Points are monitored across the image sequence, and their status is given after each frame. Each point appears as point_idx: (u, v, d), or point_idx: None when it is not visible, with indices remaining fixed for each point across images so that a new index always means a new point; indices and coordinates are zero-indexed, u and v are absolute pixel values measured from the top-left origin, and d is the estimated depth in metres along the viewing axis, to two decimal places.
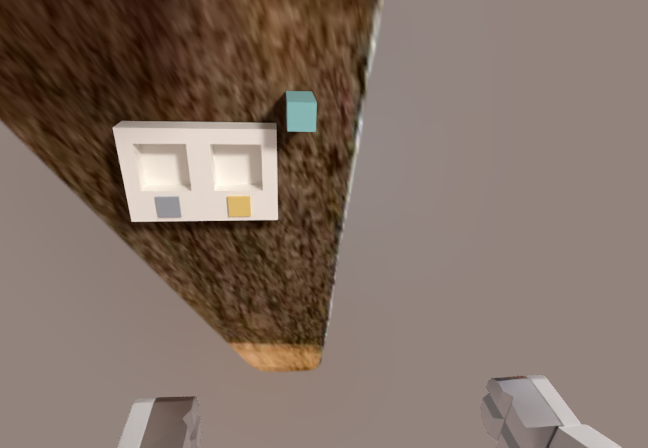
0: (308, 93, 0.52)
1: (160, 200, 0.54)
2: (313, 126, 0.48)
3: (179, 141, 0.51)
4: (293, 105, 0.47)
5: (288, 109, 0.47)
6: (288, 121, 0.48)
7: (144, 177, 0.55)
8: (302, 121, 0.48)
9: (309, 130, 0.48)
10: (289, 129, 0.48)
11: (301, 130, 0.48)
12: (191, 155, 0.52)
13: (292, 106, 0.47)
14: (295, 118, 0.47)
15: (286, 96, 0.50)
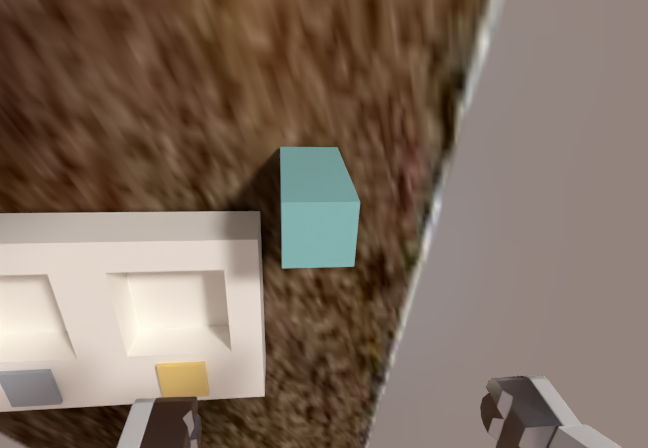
0: (331, 155, 0.23)
1: (9, 379, 0.25)
2: (350, 256, 0.19)
3: (31, 269, 0.22)
4: (297, 209, 0.17)
5: (284, 219, 0.18)
6: (284, 246, 0.18)
7: None
8: (320, 244, 0.18)
9: (338, 264, 0.19)
10: (287, 264, 0.19)
11: (318, 265, 0.19)
12: (65, 296, 0.23)
13: (294, 211, 0.17)
14: (303, 239, 0.18)
15: (280, 170, 0.21)
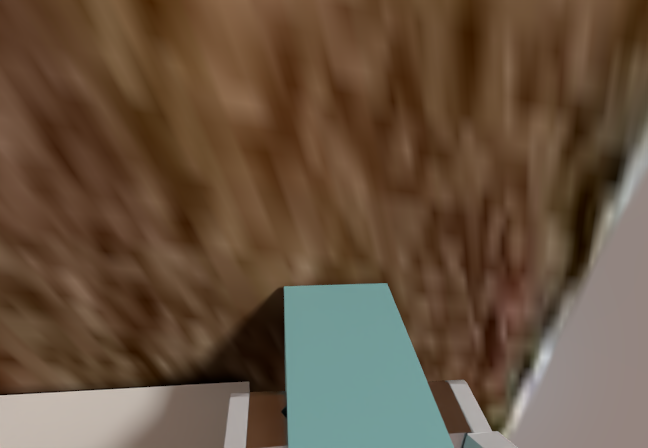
0: (382, 315, 0.12)
1: None
2: None
3: None
4: None
5: None
6: None
7: None
8: None
9: None
10: None
11: None
12: None
13: None
14: None
15: (286, 374, 0.10)
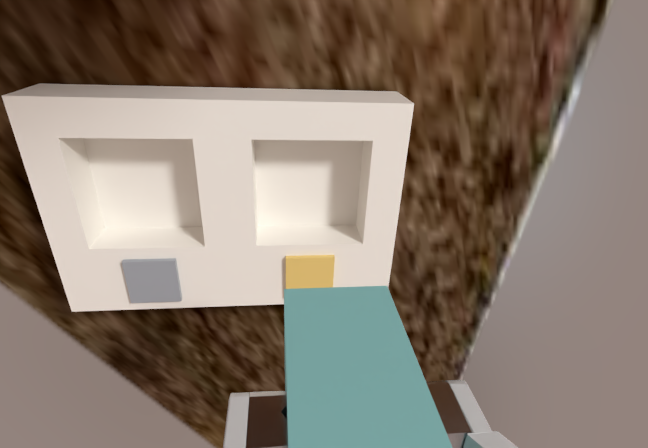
0: (382, 317, 0.12)
1: (134, 268, 0.24)
2: None
3: (176, 132, 0.21)
4: None
5: None
6: None
7: (99, 214, 0.25)
8: None
9: None
10: None
11: None
12: (206, 167, 0.22)
13: None
14: None
15: (286, 378, 0.10)
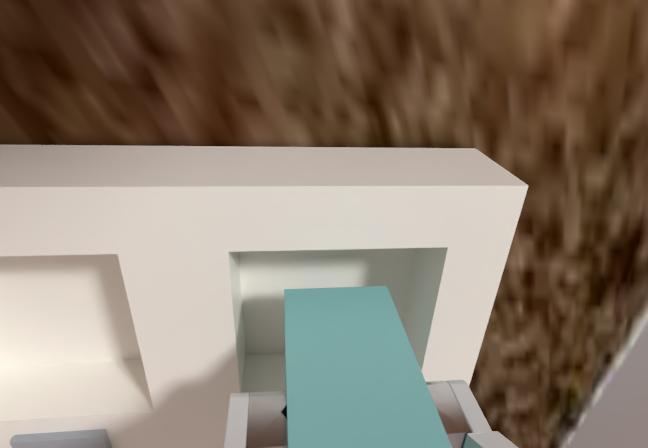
0: (382, 318, 0.12)
1: None
2: None
3: (86, 244, 0.11)
4: None
5: None
6: None
7: None
8: None
9: None
10: None
11: None
12: (148, 298, 0.12)
13: None
14: None
15: (286, 378, 0.10)
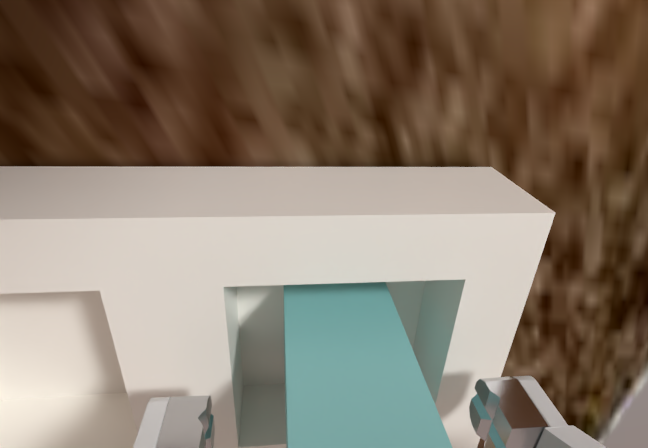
0: (378, 306, 0.12)
1: None
2: None
3: (64, 280, 0.10)
4: None
5: None
6: None
7: None
8: None
9: None
10: None
11: None
12: (135, 337, 0.11)
13: None
14: None
15: (285, 362, 0.10)
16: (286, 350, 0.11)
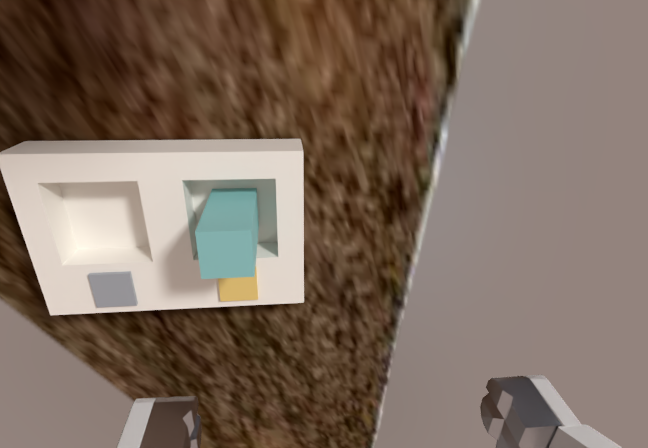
0: (248, 195, 0.30)
1: (97, 279, 0.31)
2: (250, 269, 0.26)
3: (125, 176, 0.28)
4: (207, 236, 0.25)
5: (198, 244, 0.25)
6: (201, 263, 0.26)
7: (72, 238, 0.32)
8: (227, 261, 0.26)
9: (242, 275, 0.26)
10: (204, 275, 0.26)
11: (227, 276, 0.26)
12: (149, 201, 0.29)
13: (205, 238, 0.25)
14: (214, 257, 0.26)
15: (205, 207, 0.28)
16: (206, 204, 0.28)
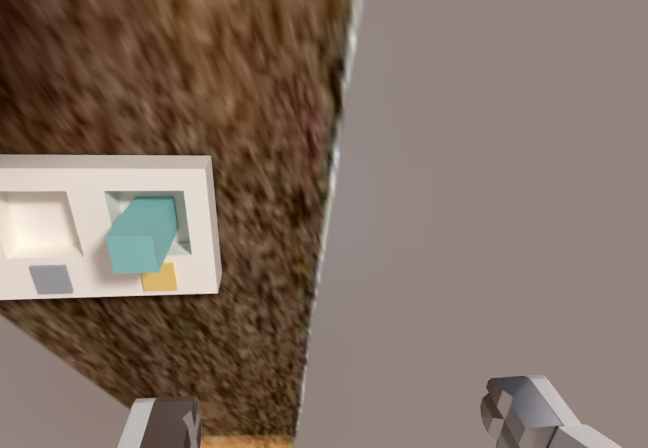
0: (163, 203, 0.36)
1: (37, 271, 0.37)
2: (154, 266, 0.32)
3: (55, 187, 0.33)
4: (115, 240, 0.31)
5: (109, 245, 0.31)
6: (113, 261, 0.32)
7: (17, 235, 0.37)
8: (134, 260, 0.32)
9: (148, 271, 0.32)
10: (116, 271, 0.32)
11: (136, 271, 0.32)
12: (77, 208, 0.34)
13: (114, 241, 0.31)
14: (123, 257, 0.32)
15: (123, 214, 0.34)
16: (124, 211, 0.34)
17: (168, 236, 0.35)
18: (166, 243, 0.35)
